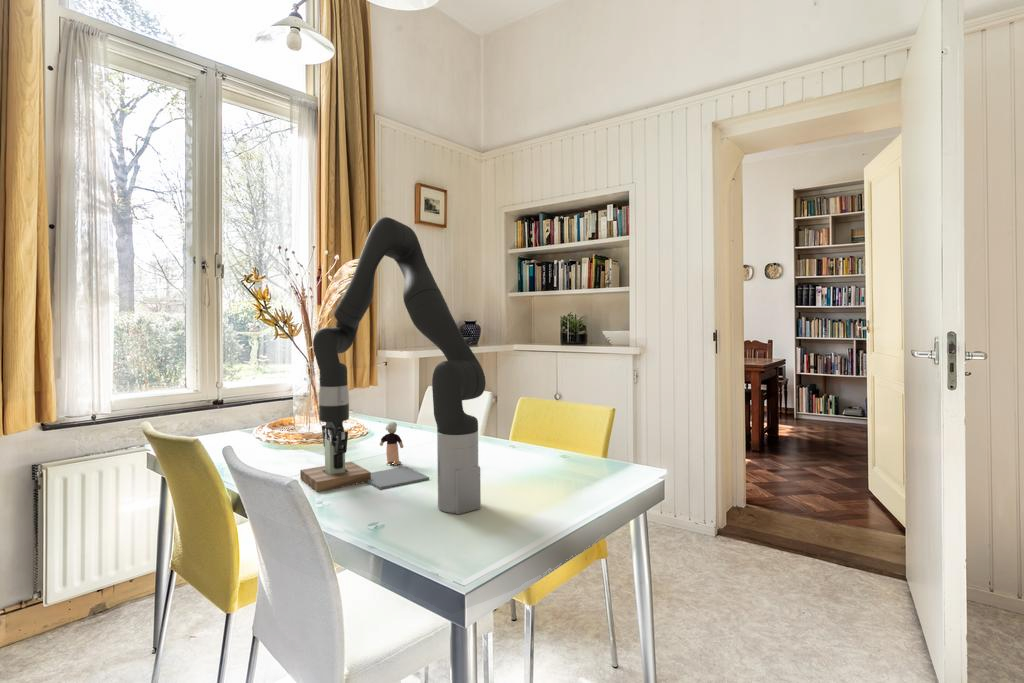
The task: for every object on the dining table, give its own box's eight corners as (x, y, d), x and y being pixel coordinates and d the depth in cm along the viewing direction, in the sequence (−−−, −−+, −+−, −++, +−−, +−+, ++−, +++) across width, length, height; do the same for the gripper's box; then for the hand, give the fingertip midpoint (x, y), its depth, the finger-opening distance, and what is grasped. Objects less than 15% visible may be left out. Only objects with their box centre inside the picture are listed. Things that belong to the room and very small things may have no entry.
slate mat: (429, 479, 142) (429, 477, 142) (379, 489, 133) (379, 487, 133) (405, 468, 153) (405, 466, 153) (358, 477, 144) (358, 474, 144)
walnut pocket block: (370, 481, 140) (370, 472, 140) (316, 491, 132) (316, 481, 132) (351, 470, 151) (351, 461, 151) (300, 479, 143) (300, 469, 143)
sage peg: (345, 480, 141) (344, 439, 141) (330, 483, 139) (329, 441, 138) (340, 477, 144) (339, 437, 144) (325, 480, 142) (324, 439, 141)
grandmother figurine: (406, 462, 159) (406, 420, 159) (402, 466, 155) (402, 423, 155) (381, 462, 160) (381, 420, 160) (377, 465, 156) (376, 422, 156)
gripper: (357, 404, 137) (358, 469, 138) (338, 398, 149) (339, 459, 149) (328, 407, 133) (329, 474, 133) (311, 400, 144) (312, 463, 145)
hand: (335, 466), depth 141 cm, fingers open, 4 cm apart
